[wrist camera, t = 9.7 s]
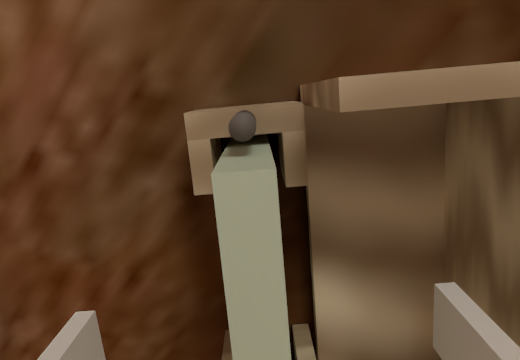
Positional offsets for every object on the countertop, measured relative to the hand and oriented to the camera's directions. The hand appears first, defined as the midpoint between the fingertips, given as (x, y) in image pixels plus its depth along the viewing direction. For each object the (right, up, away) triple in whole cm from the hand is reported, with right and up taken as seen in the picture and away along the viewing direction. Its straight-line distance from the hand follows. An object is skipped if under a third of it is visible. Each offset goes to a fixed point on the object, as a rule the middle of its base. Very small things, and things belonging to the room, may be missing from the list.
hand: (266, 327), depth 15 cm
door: (0, +2, +8) cm, 8 cm away
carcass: (+4, +2, +8) cm, 9 cm away
